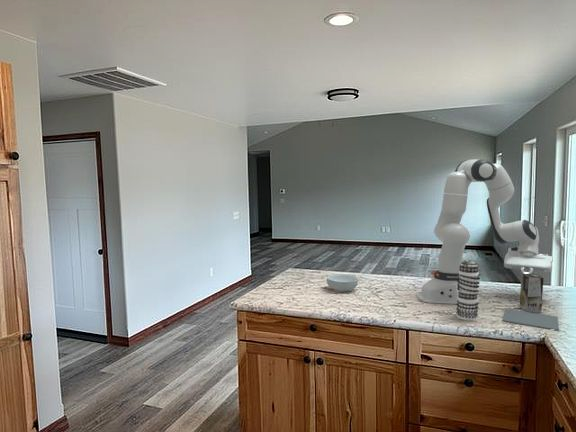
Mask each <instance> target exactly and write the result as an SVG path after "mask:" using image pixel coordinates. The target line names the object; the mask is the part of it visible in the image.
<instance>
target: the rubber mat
mask: <svg viewBox="0 0 576 432" xmlns="http://www.w3.org/2000/svg"><path fill="white" fill-rule="evenodd" d="M501 321H502V322H504V323H509V324H515V325H522V326H525V327H526V326H527V327H532V328H540V329H544V328H545V330H550V329H555V330H554V331H556V330H559V331H560V326H559V318H558V316H557V315H550V314H543V313H536V312H527V311H525V310H524V311H523V310H517V309H513V308H512V309H510V308H504V313H503V316H502V320H501Z"/></svg>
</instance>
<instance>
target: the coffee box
mask: <svg viewBox="0 0 576 432" xmlns="http://www.w3.org/2000/svg"><path fill="white" fill-rule="evenodd" d="M543 292H544V277H542V276H541V275H539V274H536V273H532V274H523V273H522V272H521V273H520V293H519V294H520V295H519V307H520V308H521V309H522V310H524V311H525V312H531V313H538V314H542V309H543V307H542V305H543V294H544V293H543Z"/></svg>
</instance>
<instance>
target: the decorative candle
mask: <svg viewBox="0 0 576 432" xmlns="http://www.w3.org/2000/svg"><path fill="white" fill-rule="evenodd" d="M459 264H460V267H459V268H460V269H459V275H458V276H457V278H458V279H457V282H458V284H457V286H458V287H457V290H458V291H459V293H458V294H459V295H458V300H457V302H458V303H457V304H456V316H455V317H457V318H458V319H460V320H463V321H477V320H478V316H479V310H478V309H479V302H478V301H479V300H478V294H479V292H480V290H479V289H478V288H480V282H479V281H480V279H481V278H480V276H481V274H480V273H479V267H480V264H478V262H477V261H476V260H472V259H462V261H461V263H459Z"/></svg>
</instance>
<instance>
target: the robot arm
mask: <svg viewBox="0 0 576 432" xmlns="http://www.w3.org/2000/svg"><path fill="white" fill-rule="evenodd" d="M472 182H473V183H480V182H481V183H484V184H485V186H486V188H487V190H488V198H487V199H486V208H487V213H488V216H489V219H490V223H491V227H492V233H493V238H494V240H495V241H496V242H498V243H499V244H501V245H506V244H508V243H511V242H512V243H513V242H518V243H519V245H517V246H511V247H509V248H508V250H507V253H506V254H505V256H504V259H503V267H504V268H505V269H512V270H520V271H521V273H523V274H534V273H533V272H545V273H551V272H552V270H553V267H552V263H553V261H554V260H553V259H554V258H553V256H551V255H550V254H548V253H547V254H543V253H539V244H540V234H539V233H540V232H539V230H538V227H537V226H536V225H534V223H532V222H531V221H529V220H527V219H520V220H516V221H512V222H508V223H503V222H502V219H501V215H500V210H499V208H500V207H501V206H502V205H504V204H505V203H507V202H508V201H509V200H511V199H512V197H513V196H514V193H515V186H514V184H513V181H512V179H511V177H510V175H509V174H508V172H507V170H506V169H505V167H503V166H502V165H501V164H499V163H492V162H491V161H489V160H488V159H484V158H482V159H481V158H480V159H476V158H475V159H473V158H471V159H466V160H463V161H461V162H460V163H459V164H458V165H457V166H456V168H455V170H454V171H453V172H450V173H449V174H447V176H446V180H445V183H444V188H443V196H442V202H441V203H442V204H441V209H440V213H439V216H438V219H437V223H436V224H435V226H434V229H433V233H434V236H436V238H437V239H438V240H440V241H441V242H442V246H441V248H440V252H439V253H438V256H437V257H438V258H437V270H436V271H435V270H430V274H431V275H432V276H433V275H434V278H433V277H432V278H431V279H430V280H428V281H427V282H425V283H424V284H423V285H422V286H421V292H417V293H416V298H417V299H418V300H420V301H421V302H424V303H426V304H427V303H428V304H447V305H457V303H458V302H457V300H458V295H459V294H458V293H459V291H458V290H457V287H458V286H457V284H458V282H457V279H458V278H457V276H458V275H459V269H460V268H459V267H460V264H459V263H461V261H462V260H463V256H464V252H465V248H466V245H467V243H468V242H469V240H470V237H471V235H470V231H469V229H468V228H467V227H466V226H464V225H463V224H461V221H462V219H463V215H464V214H465V213H466V210H467V203H468V195H469V188H470V184H471V183H472ZM527 271H528V272H527Z"/></svg>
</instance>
